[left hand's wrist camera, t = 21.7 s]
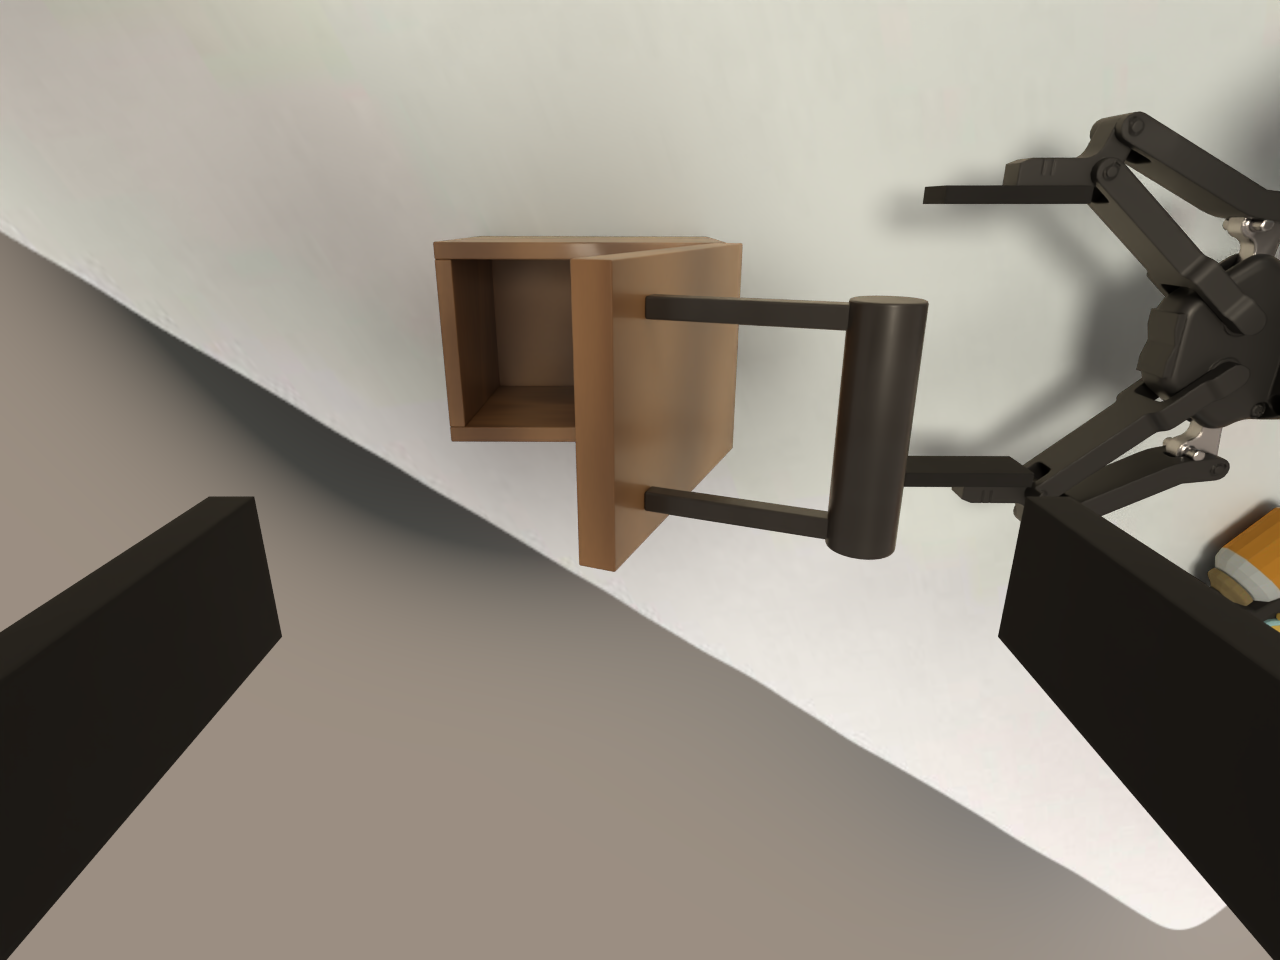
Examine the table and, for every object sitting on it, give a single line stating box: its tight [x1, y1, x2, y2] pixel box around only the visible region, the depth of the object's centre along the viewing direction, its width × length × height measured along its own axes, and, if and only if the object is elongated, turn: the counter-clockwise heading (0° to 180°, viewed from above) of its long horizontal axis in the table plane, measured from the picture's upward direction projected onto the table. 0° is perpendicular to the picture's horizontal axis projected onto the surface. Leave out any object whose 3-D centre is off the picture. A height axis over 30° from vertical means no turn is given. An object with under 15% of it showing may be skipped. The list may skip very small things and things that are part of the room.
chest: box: [433, 236, 725, 442], centre depth 38 cm, size 13×9×10 cm
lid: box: [570, 243, 929, 572], centre depth 26 cm, size 14×9×9 cm
